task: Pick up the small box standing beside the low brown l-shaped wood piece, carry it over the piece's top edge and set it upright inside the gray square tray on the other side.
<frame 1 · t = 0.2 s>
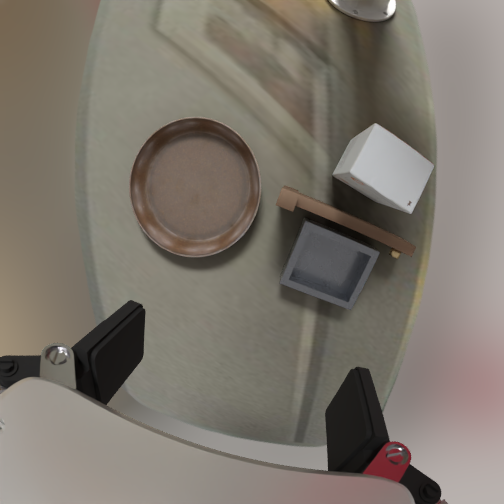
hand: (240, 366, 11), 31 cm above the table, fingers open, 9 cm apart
gray square tray: (327, 260, 40), on the table
small box: (364, 170, 36), on the table
brown l-shaped wood piece: (346, 217, 38), on the table
plant saucer: (196, 186, 41), on the table
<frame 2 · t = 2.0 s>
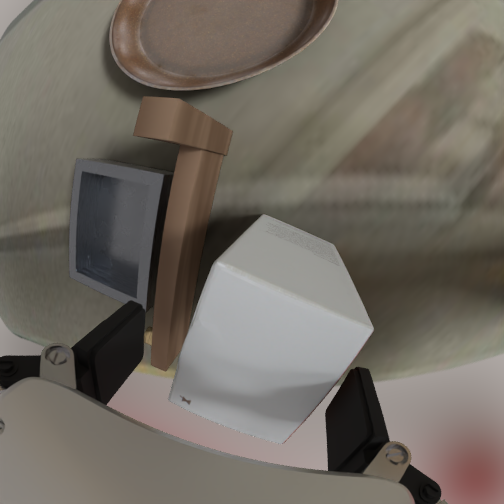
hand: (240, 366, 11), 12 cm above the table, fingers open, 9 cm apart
gray square tray: (128, 226, 24), on the table
small box: (280, 271, 22), on the table
brown l-shaped wood piece: (194, 246, 23), on the table
plant saucer: (221, 8, 17), on the table
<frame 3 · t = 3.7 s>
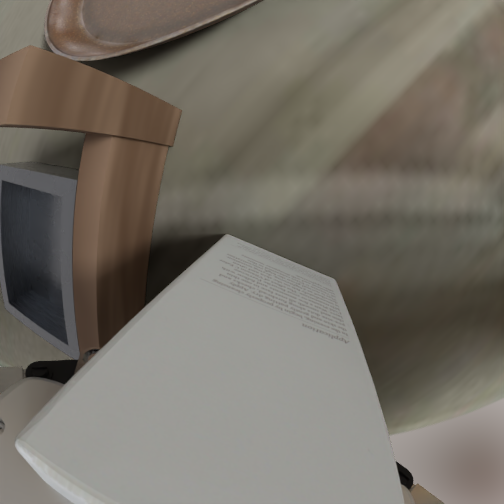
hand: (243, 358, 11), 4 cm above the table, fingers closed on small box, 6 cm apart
gray square tray: (60, 247, 16), on the table
small box: (255, 316, 15), on the table, touching gripper
brown l-shaped wood piece: (136, 278, 16), on the table
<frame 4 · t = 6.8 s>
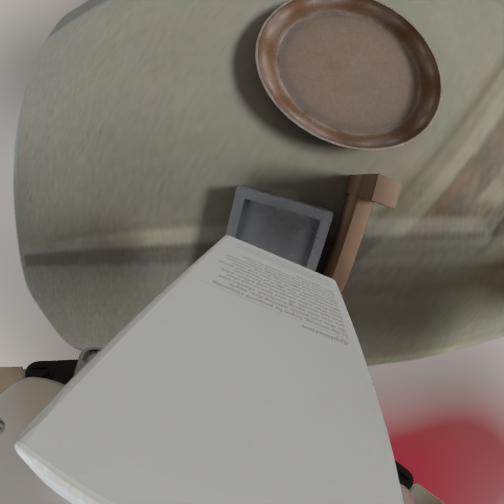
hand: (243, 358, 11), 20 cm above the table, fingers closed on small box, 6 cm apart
gray square tray: (272, 247, 30), on the table
small box: (255, 316, 15), point 16 cm above the table, touching gripper
brown l-shaped wood piece: (332, 264, 30), on the table
plant saucer: (349, 68, 24), on the table
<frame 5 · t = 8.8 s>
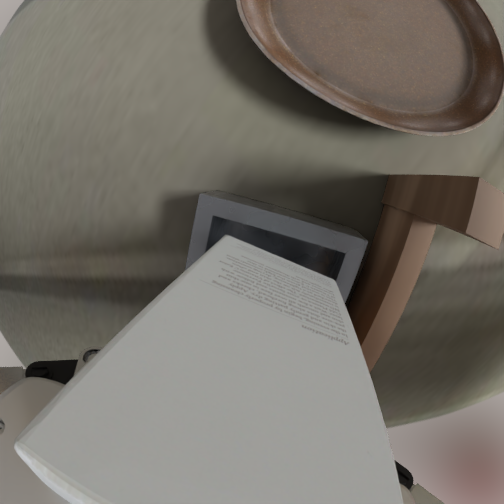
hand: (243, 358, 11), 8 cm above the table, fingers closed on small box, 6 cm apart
gray square tray: (264, 287, 19), on the table
small box: (255, 316, 15), point 4 cm above the table, touching gripper
brown l-shaped wood piece: (355, 312, 19), on the table
plant saucer: (378, 20, 13), on the table
when the fingers open (5 cm above the table, at t = 10.3 s): small box drops 1 cm, resting on gray square tray.
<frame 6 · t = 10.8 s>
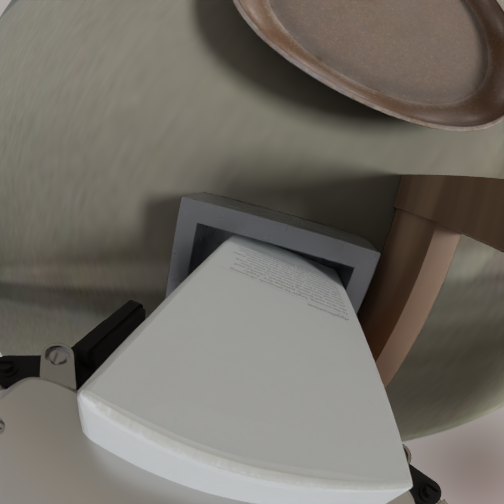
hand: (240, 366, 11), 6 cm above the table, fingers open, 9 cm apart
gray square tray: (259, 303, 17), on the table
small box: (263, 306, 17), resting on gray square tray
brown l-shaped wood piece: (361, 329, 16), on the table
plant saucer: (385, 4, 11), on the table
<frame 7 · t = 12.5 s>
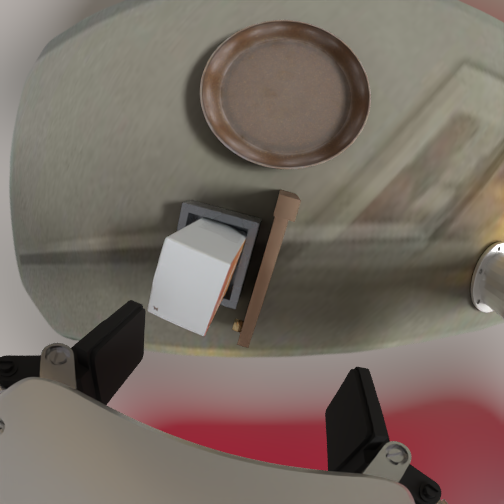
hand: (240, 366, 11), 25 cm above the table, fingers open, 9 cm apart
gray square tray: (215, 250, 37), on the table
small box: (217, 251, 36), resting on gray square tray
brown l-shaped wood piece: (266, 265, 36), on the table
plant saucer: (285, 93, 30), on the table
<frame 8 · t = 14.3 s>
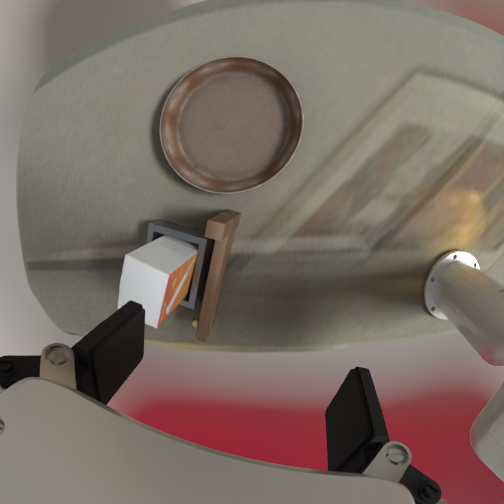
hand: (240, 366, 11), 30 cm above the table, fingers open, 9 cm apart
gray square tray: (179, 260, 43), on the table
small box: (180, 261, 43), resting on gray square tray
brown l-shaped wood piece: (220, 273, 43), on the table
plant saucer: (231, 124, 37), on the table
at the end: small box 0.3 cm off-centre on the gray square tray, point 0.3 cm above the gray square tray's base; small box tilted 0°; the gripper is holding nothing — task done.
